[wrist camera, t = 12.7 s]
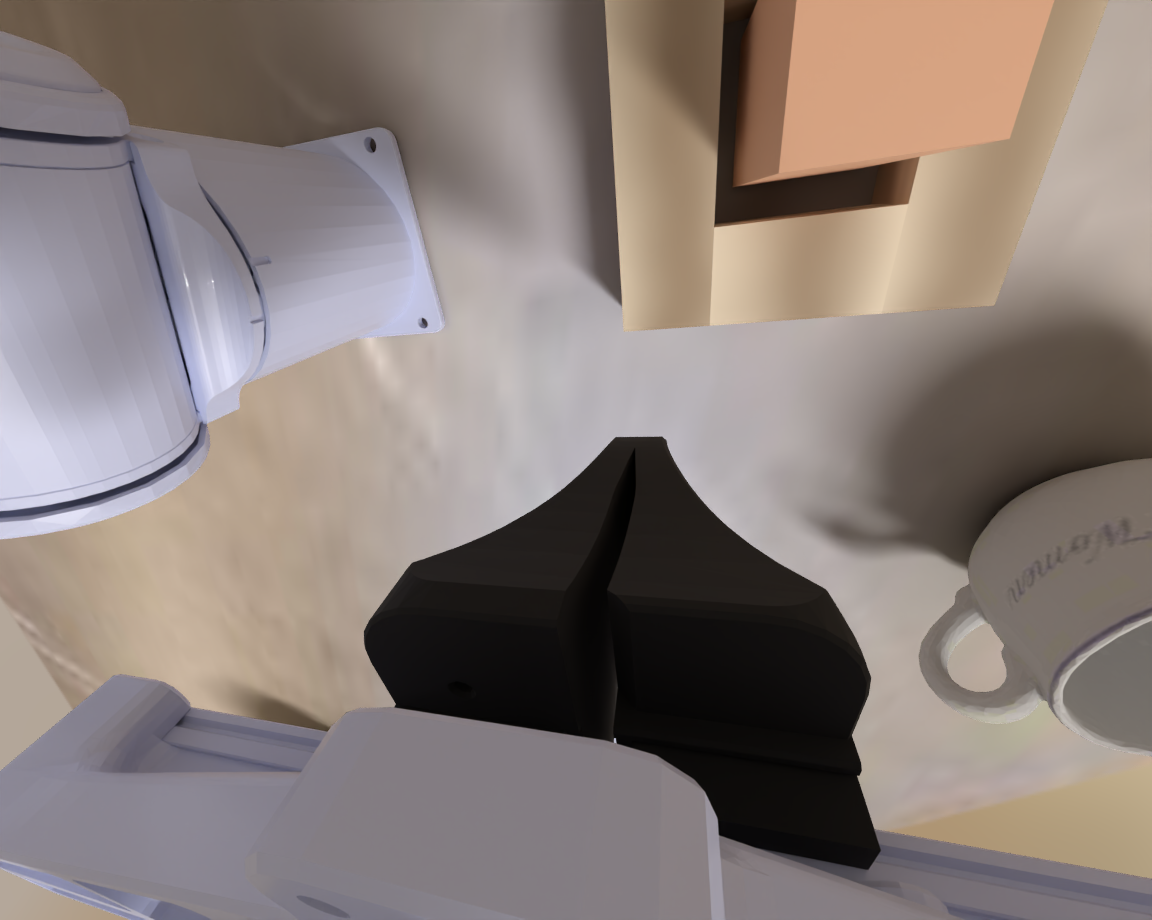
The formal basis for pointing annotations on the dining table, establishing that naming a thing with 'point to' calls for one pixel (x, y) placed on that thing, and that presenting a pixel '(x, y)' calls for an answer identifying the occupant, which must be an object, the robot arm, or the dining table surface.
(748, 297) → the birch socket block
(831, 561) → the dining table surface
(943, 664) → the teacup
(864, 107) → the terracotta peg
